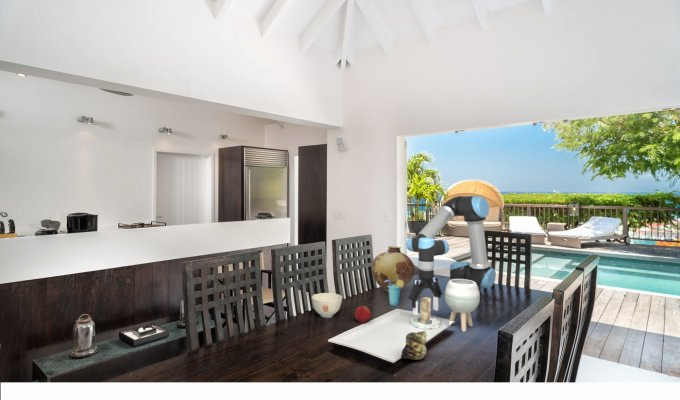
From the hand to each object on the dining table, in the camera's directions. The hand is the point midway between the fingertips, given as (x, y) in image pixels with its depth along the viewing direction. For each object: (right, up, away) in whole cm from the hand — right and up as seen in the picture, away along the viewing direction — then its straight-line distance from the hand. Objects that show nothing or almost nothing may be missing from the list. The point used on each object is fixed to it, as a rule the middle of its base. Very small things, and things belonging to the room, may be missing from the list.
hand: (425, 312), depth 193 cm
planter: (+16, -7, -4) cm, 18 cm away
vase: (-8, -5, +62) cm, 62 cm away
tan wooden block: (0, -5, 0) cm, 5 cm away
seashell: (-14, -7, -40) cm, 43 cm away
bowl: (-49, -5, +11) cm, 51 cm away
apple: (-31, -6, +2) cm, 32 cm away
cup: (-11, -5, +34) cm, 36 cm away
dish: (0, -6, 0) cm, 6 cm away
